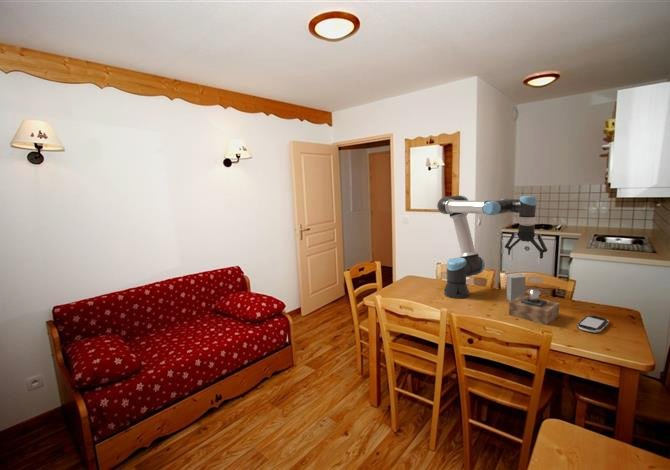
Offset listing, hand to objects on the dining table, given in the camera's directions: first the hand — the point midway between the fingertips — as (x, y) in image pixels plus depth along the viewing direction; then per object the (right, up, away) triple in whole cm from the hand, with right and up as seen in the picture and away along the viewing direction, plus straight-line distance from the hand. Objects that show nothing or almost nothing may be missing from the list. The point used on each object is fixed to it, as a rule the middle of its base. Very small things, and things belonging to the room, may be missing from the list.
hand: (524, 262), depth 176 cm
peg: (0, -22, -8) cm, 23 cm away
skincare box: (+3, -24, +14) cm, 28 cm away
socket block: (0, -28, -7) cm, 28 cm away
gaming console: (+20, -29, -22) cm, 42 cm away
